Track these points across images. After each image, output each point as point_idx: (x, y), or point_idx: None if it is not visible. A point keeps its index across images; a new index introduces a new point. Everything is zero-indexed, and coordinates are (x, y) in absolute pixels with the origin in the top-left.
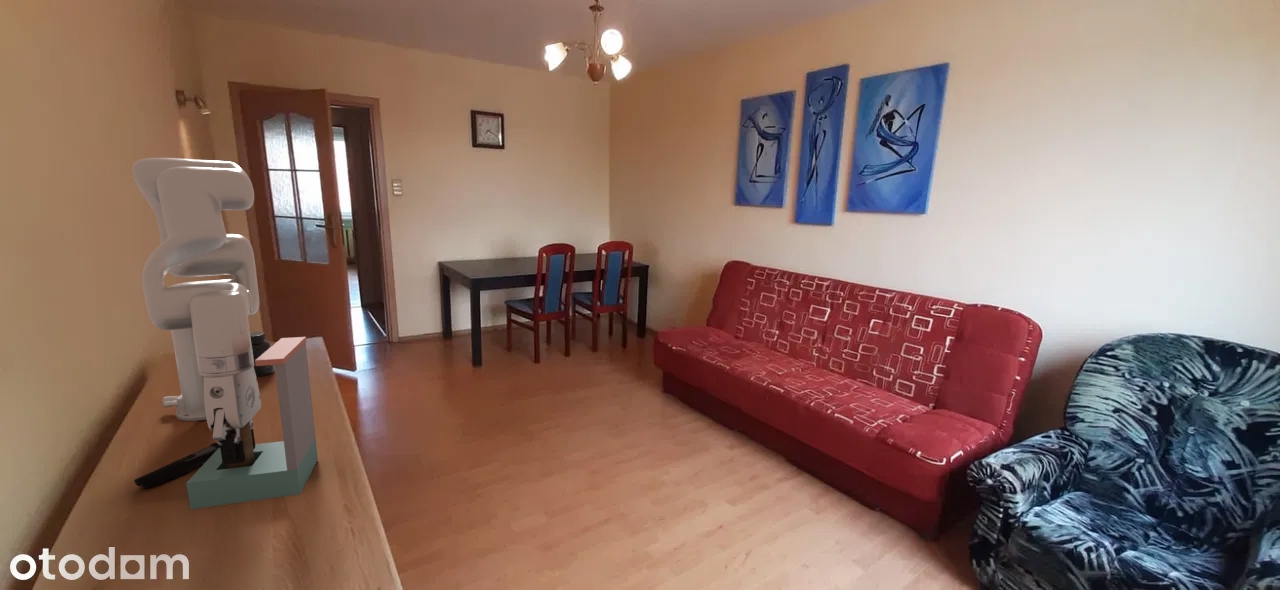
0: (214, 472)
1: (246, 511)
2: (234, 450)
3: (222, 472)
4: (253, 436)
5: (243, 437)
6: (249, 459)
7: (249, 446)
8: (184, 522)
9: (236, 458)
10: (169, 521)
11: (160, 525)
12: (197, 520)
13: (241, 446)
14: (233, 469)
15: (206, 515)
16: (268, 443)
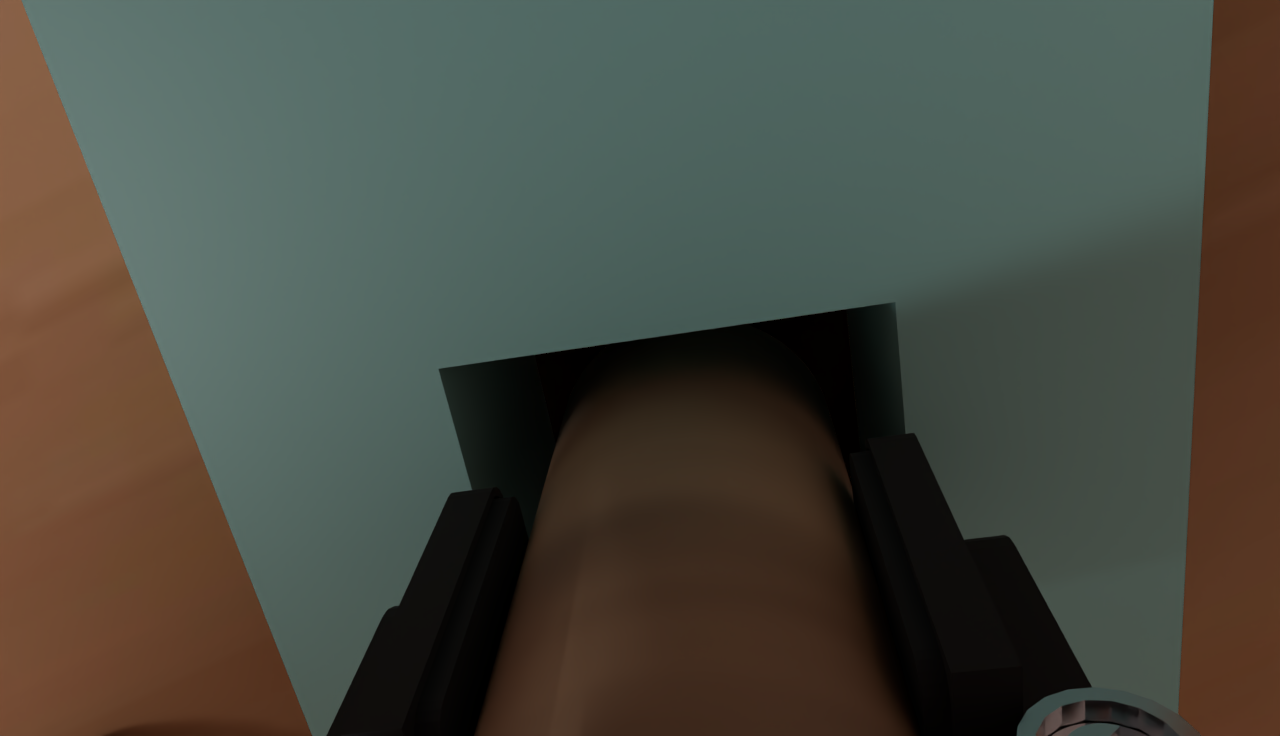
0: None
1: (1255, 81)
2: (1066, 651)
3: None
4: (425, 614)
5: (866, 719)
6: (762, 410)
7: (737, 516)
8: (1259, 537)
9: (1005, 539)
10: (1198, 647)
11: (1240, 676)
12: (1264, 455)
13: (981, 604)
14: (957, 491)
15: (1199, 425)
16: (206, 409)
